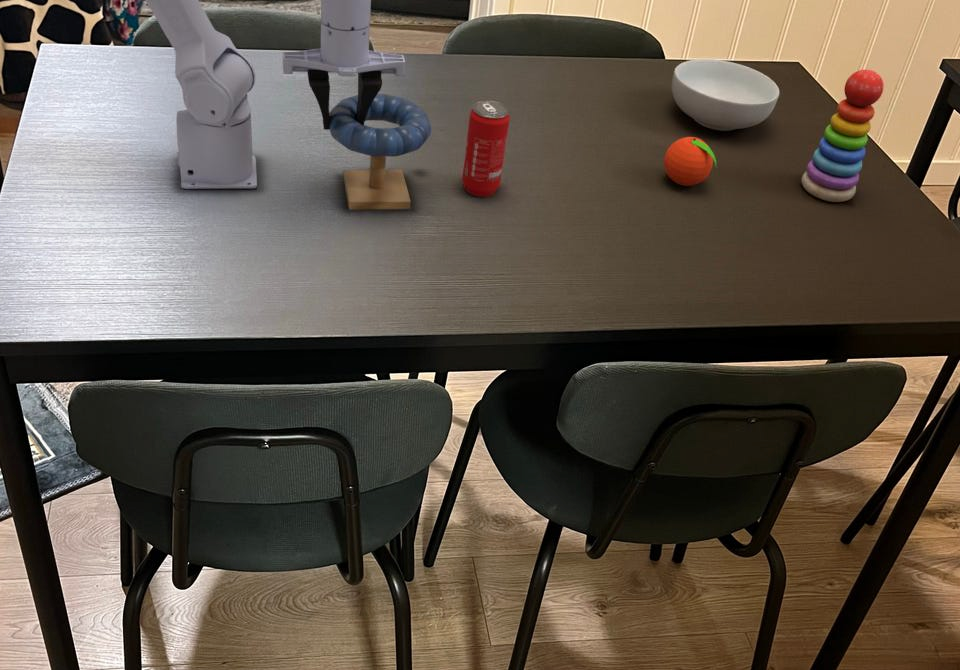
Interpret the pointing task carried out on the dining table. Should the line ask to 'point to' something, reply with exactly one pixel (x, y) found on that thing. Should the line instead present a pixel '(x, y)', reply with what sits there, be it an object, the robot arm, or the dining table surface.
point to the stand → (376, 187)
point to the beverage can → (485, 148)
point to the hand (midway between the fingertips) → (342, 126)
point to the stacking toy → (844, 141)
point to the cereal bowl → (723, 94)
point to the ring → (380, 140)
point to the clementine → (688, 161)
